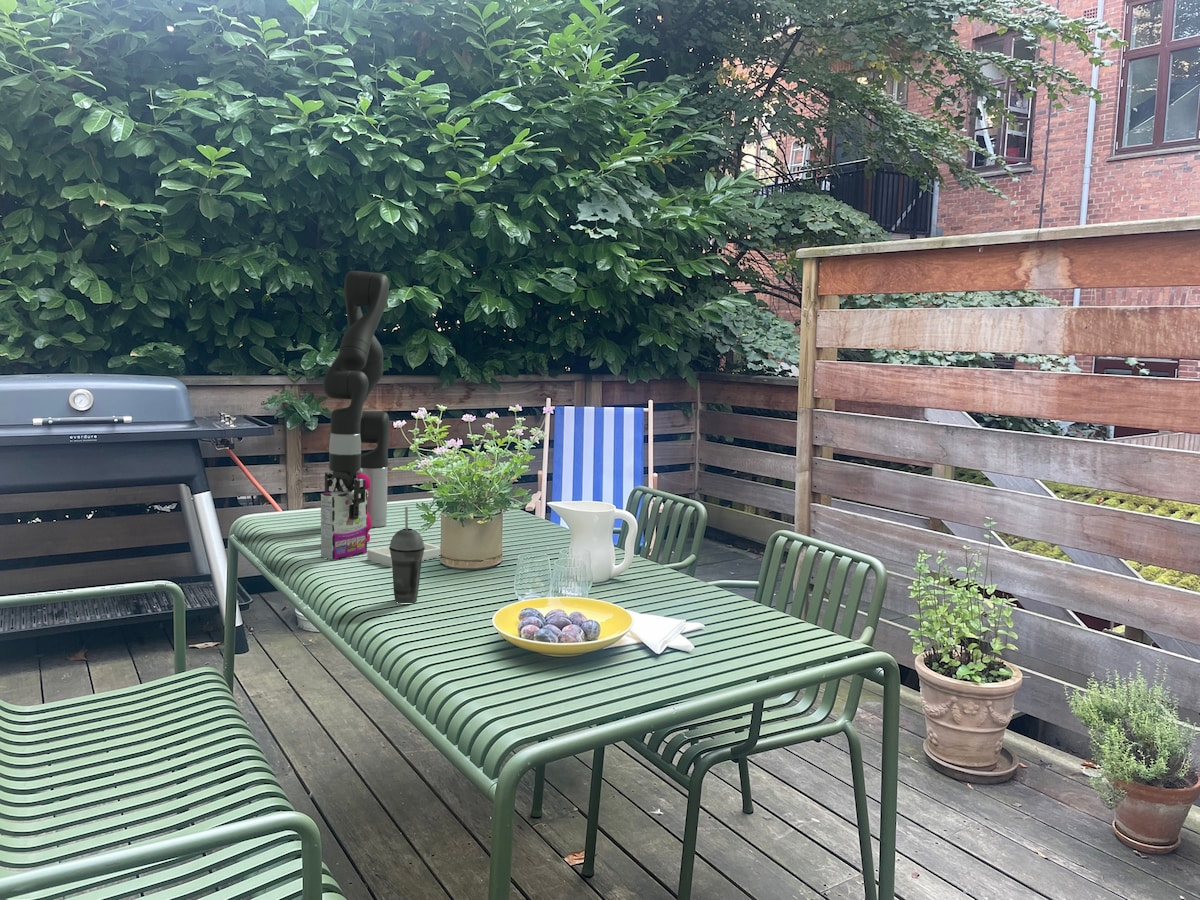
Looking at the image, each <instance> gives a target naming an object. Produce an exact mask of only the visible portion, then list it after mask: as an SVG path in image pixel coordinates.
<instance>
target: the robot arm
mask: <svg viewBox="0 0 1200 900" xmlns="http://www.w3.org/2000/svg"><path fill="white" fill-rule="evenodd" d="M389 295H390V282H389V278H388V277H387V275H386V274H383V273H380V272H369V271H362V270H361V271H360V270H350V271H348V272H347V273H346V275H345V278H344V300H345V302H344V303H345V309H346V317H347V328H348V329H347V330H346V331H345V333H343V334H344V335H343V336H342V339H341V342H340V347H339V351H338V354H337V356H336V357H335V360H334V361H333V362H332V364H331V366H330V367H329V368H328V370H327V372H326V373H325V375H324V379H323V382H322V384H323V385H322V387H323V391H324V393H325V395H326V396H327V397H328V398H329V399H337V400H350V403H349V405H348V406H346V407H344V408H337V409H334V410H332V411H331V414H330V437H329V444H328V445H329V449H328V450H329V453H328V454H329V455H328V458H329V459H328V461H329V462H328V469H329V472H325V473H324V493H327V492H333V491H342V492H344V494H345V496H346V497H347V498H348V500H349V503H350V505H349V519H351V520H355V519H358V516H359V504H360V503H363V502H365V485H366V480H365V479H358V478H357V471H359V470H360V469H361V468H362V473H363V474H365V475H367V476H368V477H369V479H370V487H369V488H368V489H367V491H368V497H367V510H368V513H369V515H370V518H371V521H372V528H379V527H380V528H381V527H385V526H386V525H387V521H388V519H387V517H388V512H387V511H388V479H389V478H388V473H389V470H388V469H389V467H388V466H389V465H388V463H389V461H388V460H389V453H388V452H389V437H390V425H391V424H390V422H391V421H390V416H389V414H388V412H387V411H386V412H385V411H375V410H373V411H372V410H371V411H370V410H363V407H364V404H365V402H366V401H367V399H368V396H369V394H370V393H371V392H372V391H373V390H374V388H375V387H376V386H377V384H378V383H379V382H380V380H381V378H382V376H383V374H384V351H383V348H382V345H381V343H380V342H379V340H378V338H377V337H376V336H375V332H376V330H377V328H378V326H379V323H380V321H381V319H382V316H383V314H384V311H385V308H386V307H387V303H388V300H389ZM362 308H368V309H367V311H366V312H365V313H363V312H362ZM362 444H376V447H375V448H374V449H372V450H370V451H367V452H366V453H365V452H364V453H362ZM353 490H354V492H352V491H353ZM359 493H361V498H359ZM352 496H354V499H353V498H352Z"/></svg>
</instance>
